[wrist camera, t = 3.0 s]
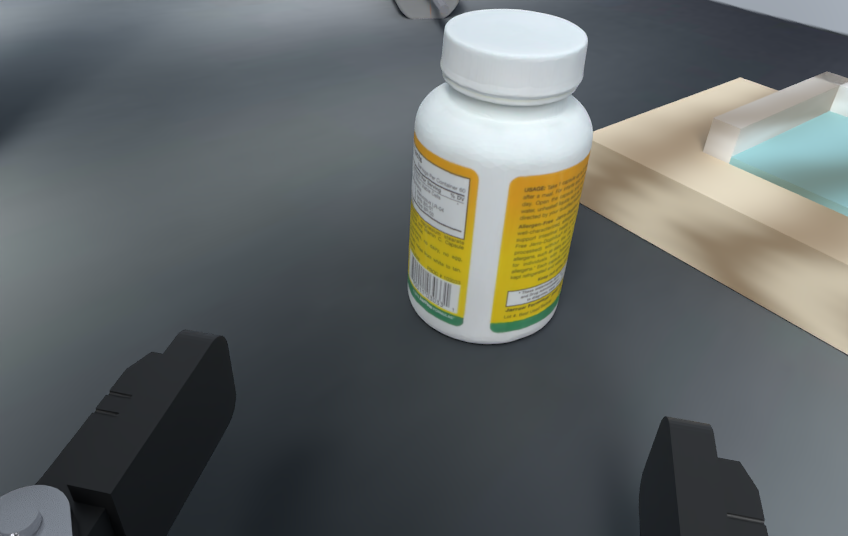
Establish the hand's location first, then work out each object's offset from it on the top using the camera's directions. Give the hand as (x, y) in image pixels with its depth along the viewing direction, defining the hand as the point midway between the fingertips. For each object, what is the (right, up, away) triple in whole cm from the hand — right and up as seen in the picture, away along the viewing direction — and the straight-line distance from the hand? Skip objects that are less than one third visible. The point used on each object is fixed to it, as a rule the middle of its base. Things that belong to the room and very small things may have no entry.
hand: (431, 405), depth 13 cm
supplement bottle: (+2, +1, +12) cm, 13 cm away
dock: (+17, +3, +16) cm, 23 cm away
